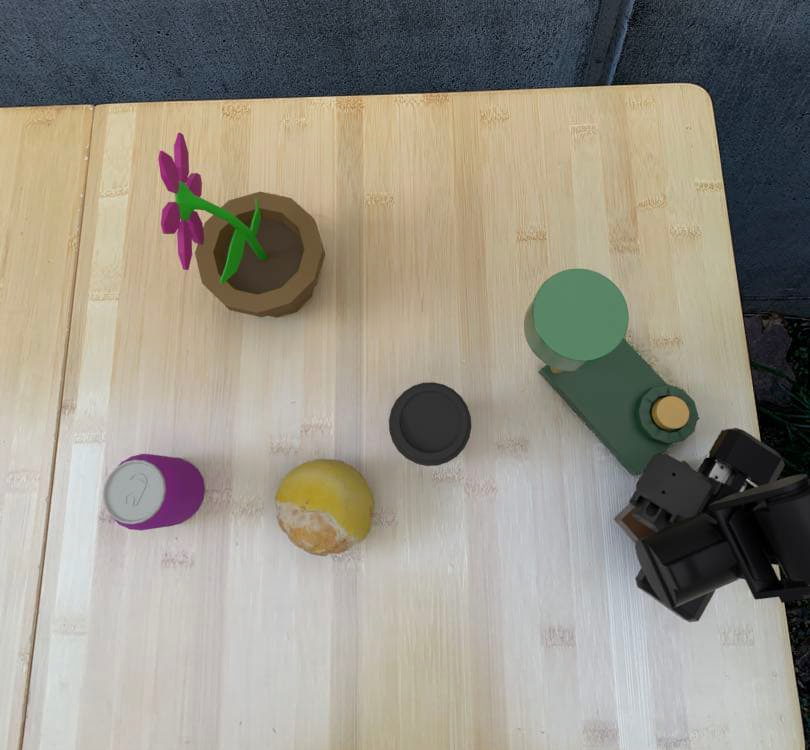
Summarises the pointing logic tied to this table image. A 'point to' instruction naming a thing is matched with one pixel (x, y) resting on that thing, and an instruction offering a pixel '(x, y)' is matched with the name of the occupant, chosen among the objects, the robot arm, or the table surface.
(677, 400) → the lamp switch
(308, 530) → the fruit
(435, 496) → the table surface
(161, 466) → the beverage can
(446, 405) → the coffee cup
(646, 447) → the lamp base
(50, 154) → the table surface
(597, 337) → the green short cylinder
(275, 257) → the flowerpot
